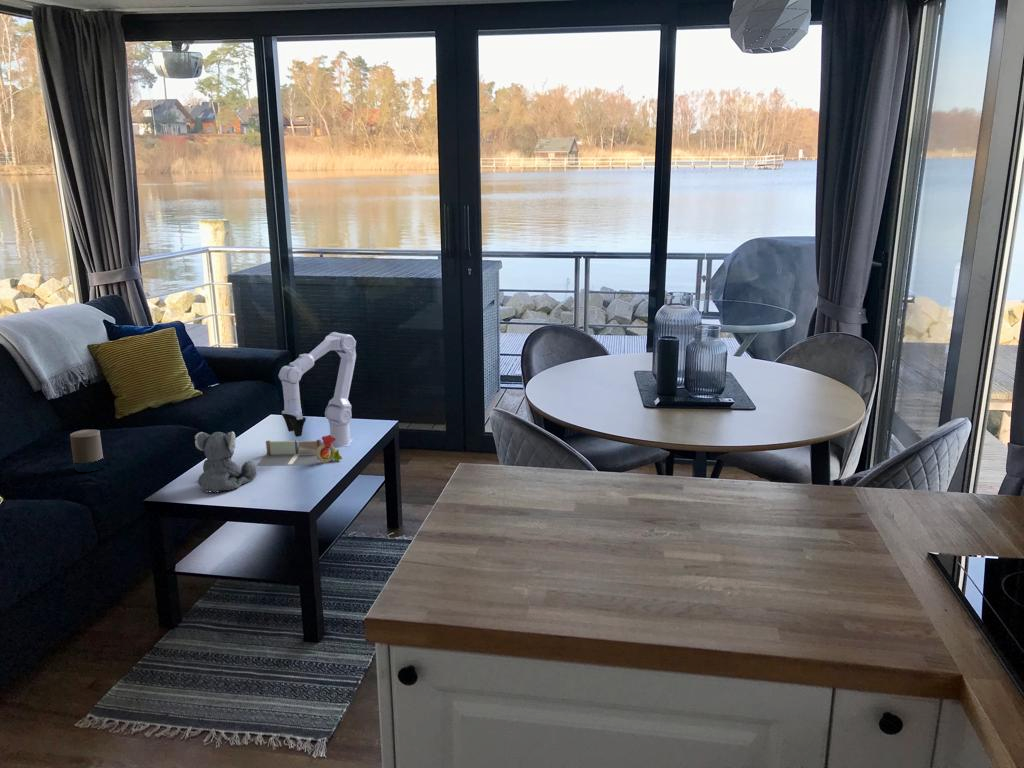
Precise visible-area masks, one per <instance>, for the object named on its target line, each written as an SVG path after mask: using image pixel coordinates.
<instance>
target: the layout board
mask: <svg viewBox="0 0 1024 768" xmlns="http://www.w3.org/2000/svg"><path fill="white" fill-rule="evenodd" d="M323 449H324V448H323ZM319 462H320V460H319V459H318V458H317V456H316V454H299V447H298V454H281V455H267V453H265V454H264V456H263V457H262V458H261V459H260V460H259V462H258V463H257V464H256V466H255V467H272V466H276V467H277V466H279V467H280V466H283V467H284V466H285V467H286V466H316V465H318V464H319Z"/></svg>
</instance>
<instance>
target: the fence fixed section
mask: <svg viewBox="0 0 1024 768" xmlns="http://www.w3.org/2000/svg"><path fill="white" fill-rule="evenodd" d="M321 444H322V439H316V440H300V441H298V448H299V454H316V451H317V448H318V447H319V446H320V445H321Z"/></svg>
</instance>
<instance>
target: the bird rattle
mask: <svg viewBox="0 0 1024 768" xmlns="http://www.w3.org/2000/svg"><path fill="white" fill-rule="evenodd" d="M335 440H336V439H335V438H333V437H332V436H331V435H330V434H328V435H323V436H322V437H321V441H322V442H323V443H321V445H320V446H319V447H318V448H317V451H316V456H317V458H318V459H319V462H321V464H326V463H329V462H332V460H334V461H335V462H339V461H340V460H342V459H343V457H342V455H340V449H336V447H334V446H333V445H332V444H331V443H333V442H334V441H335ZM323 448H324V449H323Z"/></svg>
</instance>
